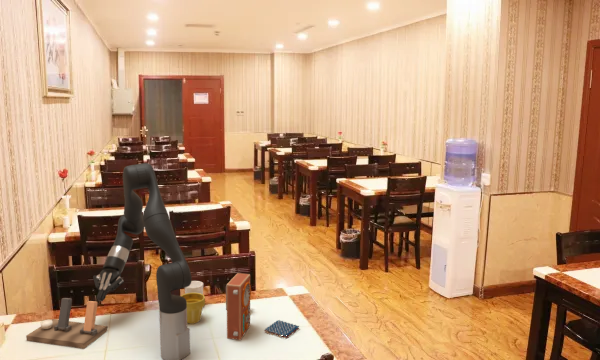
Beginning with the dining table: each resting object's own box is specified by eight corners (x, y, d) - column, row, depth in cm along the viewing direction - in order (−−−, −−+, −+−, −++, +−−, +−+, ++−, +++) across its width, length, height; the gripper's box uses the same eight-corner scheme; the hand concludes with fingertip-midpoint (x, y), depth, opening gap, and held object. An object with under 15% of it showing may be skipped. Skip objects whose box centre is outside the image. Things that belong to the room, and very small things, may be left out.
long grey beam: (67, 329, 186) (72, 298, 188) (64, 330, 184) (68, 299, 186) (60, 328, 187) (65, 297, 188) (57, 329, 185) (61, 298, 186)
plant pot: (207, 323, 197) (207, 300, 195) (181, 327, 193) (180, 304, 192) (202, 313, 207) (202, 290, 205) (177, 316, 203) (176, 294, 201)
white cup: (185, 310, 208) (184, 288, 207) (184, 303, 216) (184, 281, 214) (204, 309, 211) (203, 286, 209) (202, 301, 218) (202, 280, 216)
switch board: (107, 330, 190) (107, 322, 189) (84, 348, 176) (83, 339, 176) (53, 323, 195) (52, 315, 194) (26, 340, 181) (25, 331, 181)
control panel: (253, 324, 197) (241, 342, 183) (236, 322, 199) (223, 339, 184) (253, 273, 194) (241, 287, 179) (236, 271, 195) (222, 285, 181)
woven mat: (277, 323, 200) (277, 318, 199) (300, 330, 194) (300, 325, 194) (262, 333, 191) (262, 328, 190) (286, 341, 185) (286, 335, 185)
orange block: (93, 333, 184) (97, 301, 185) (90, 334, 182) (94, 302, 183) (86, 332, 184) (90, 301, 186) (82, 333, 182) (87, 301, 184)
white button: (55, 325, 189) (54, 320, 188) (47, 329, 185) (47, 324, 184) (46, 323, 190) (45, 319, 189) (38, 328, 186) (38, 323, 185)
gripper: (97, 253, 197) (79, 294, 187) (127, 256, 194) (110, 298, 184) (106, 262, 203) (89, 302, 193) (135, 265, 200) (119, 306, 190)
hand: (99, 300), depth 189 cm, fingers closed
